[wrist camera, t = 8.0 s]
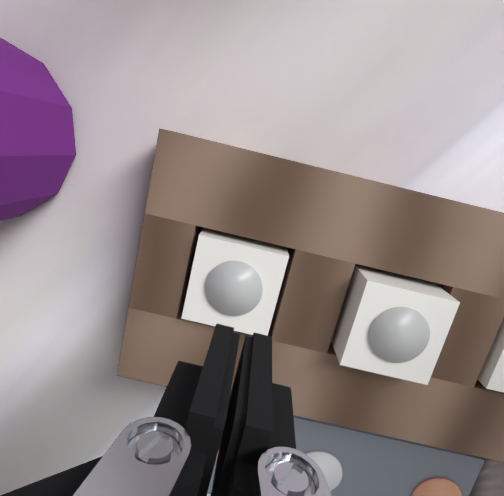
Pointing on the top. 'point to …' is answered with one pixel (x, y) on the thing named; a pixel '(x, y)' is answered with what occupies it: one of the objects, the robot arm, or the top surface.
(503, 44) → the top surface
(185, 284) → the button board
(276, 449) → the robot arm
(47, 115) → the mug
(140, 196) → the top surface
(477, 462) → the pattern card
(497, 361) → the button
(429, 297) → the middle button
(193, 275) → the button
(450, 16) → the top surface
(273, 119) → the top surface
